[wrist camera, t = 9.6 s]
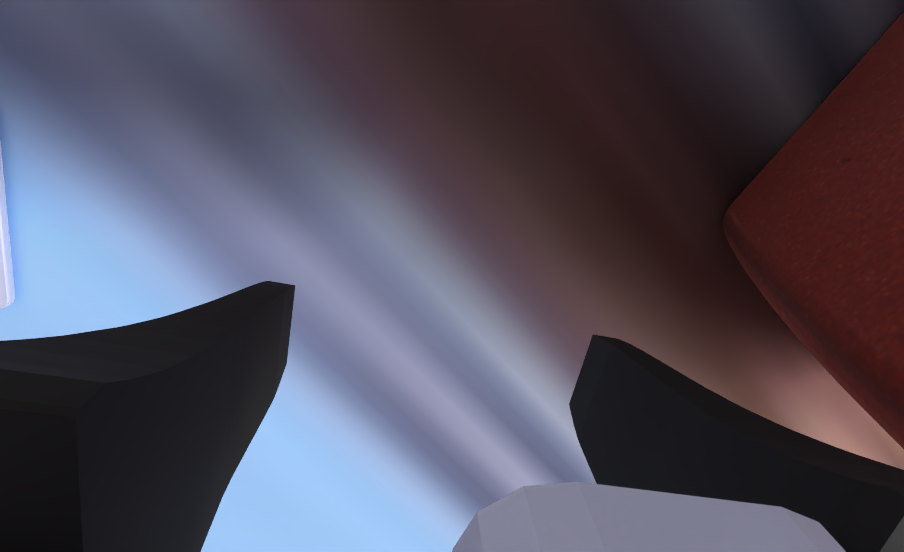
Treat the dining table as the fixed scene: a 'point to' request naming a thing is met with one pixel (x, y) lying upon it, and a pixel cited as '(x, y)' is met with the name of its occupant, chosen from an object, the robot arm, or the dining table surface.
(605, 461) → the robot arm
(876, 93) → the plant pot
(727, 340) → the dining table surface
